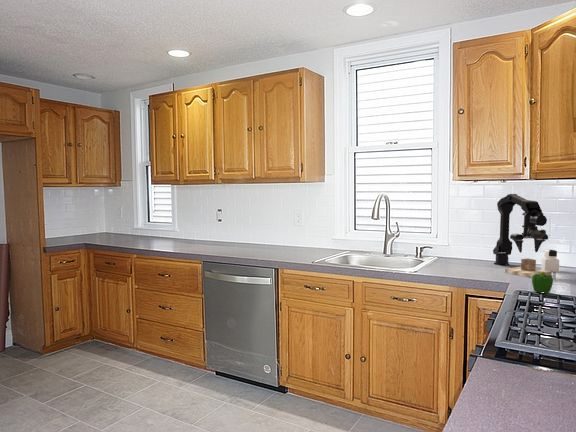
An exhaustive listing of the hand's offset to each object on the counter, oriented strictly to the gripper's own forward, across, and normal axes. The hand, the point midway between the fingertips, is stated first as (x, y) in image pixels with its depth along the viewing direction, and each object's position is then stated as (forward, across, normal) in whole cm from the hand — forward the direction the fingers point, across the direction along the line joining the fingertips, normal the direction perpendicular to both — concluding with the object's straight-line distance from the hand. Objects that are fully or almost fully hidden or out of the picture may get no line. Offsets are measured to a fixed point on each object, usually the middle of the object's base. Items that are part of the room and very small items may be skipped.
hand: (528, 252), depth 237 cm
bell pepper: (+12, -20, -39) cm, 45 cm away
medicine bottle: (+12, +18, +6) cm, 22 cm away
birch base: (+12, 0, 0) cm, 12 cm away
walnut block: (+10, 0, 0) cm, 10 cm away
